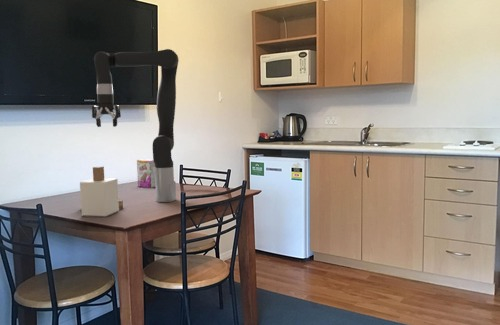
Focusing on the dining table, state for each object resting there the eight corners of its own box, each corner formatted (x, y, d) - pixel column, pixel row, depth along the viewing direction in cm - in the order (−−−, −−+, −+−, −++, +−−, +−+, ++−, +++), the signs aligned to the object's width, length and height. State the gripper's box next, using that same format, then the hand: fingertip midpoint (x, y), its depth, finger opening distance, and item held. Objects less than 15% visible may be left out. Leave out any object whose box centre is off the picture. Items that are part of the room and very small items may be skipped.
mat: (117, 211, 211) (117, 210, 211) (105, 217, 200) (105, 215, 200) (96, 211, 213) (96, 209, 213) (82, 216, 203) (82, 215, 203)
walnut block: (122, 207, 220) (122, 199, 220) (121, 209, 216) (121, 201, 216) (114, 208, 220) (113, 199, 219) (112, 209, 216) (112, 201, 215)
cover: (119, 210, 211) (116, 165, 209) (105, 216, 200) (103, 168, 198) (96, 209, 214) (93, 165, 211) (81, 215, 202) (78, 168, 200)
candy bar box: (137, 186, 281) (136, 159, 279) (143, 185, 285) (142, 159, 283) (151, 188, 275) (149, 160, 273) (156, 186, 279) (155, 159, 277)
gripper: (122, 93, 229) (123, 126, 231) (96, 94, 232) (98, 126, 234) (114, 93, 222) (116, 126, 224) (87, 93, 225) (89, 127, 227)
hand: (106, 126), depth 229 cm, fingers open, 8 cm apart
